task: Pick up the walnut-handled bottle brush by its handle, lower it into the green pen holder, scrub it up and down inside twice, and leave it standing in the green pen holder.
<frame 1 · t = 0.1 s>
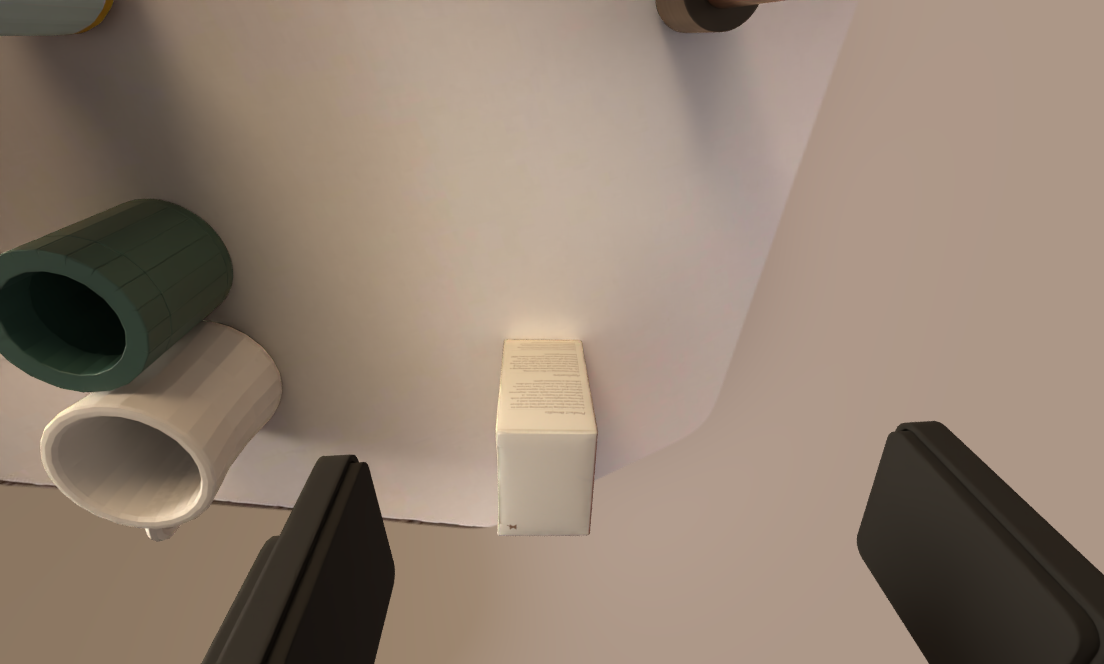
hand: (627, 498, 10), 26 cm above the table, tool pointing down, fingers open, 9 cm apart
small box: (542, 383, 41), on the table
mug: (221, 390, 40), on the table
green pen holder: (168, 259, 35), on the table
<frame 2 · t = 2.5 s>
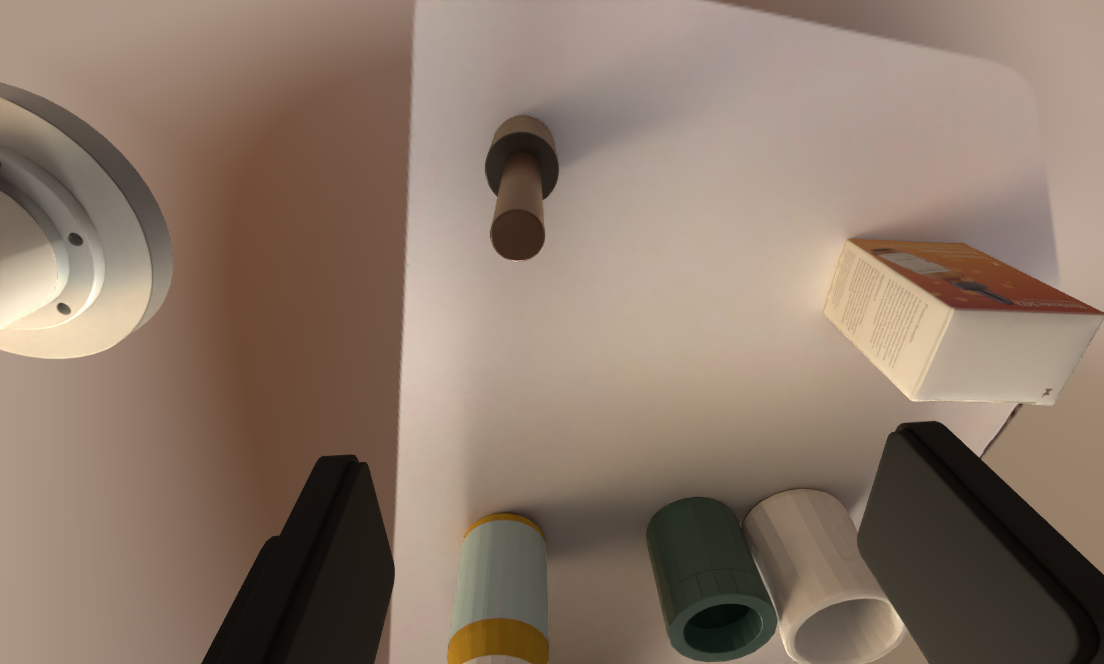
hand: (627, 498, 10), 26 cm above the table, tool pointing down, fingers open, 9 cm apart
bottle: (504, 536, 47), on the table
small box: (887, 277, 37), on the table
mug: (805, 524, 48), on the table
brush: (523, 148, 32), on the table
green pen holder: (690, 530, 48), on the table
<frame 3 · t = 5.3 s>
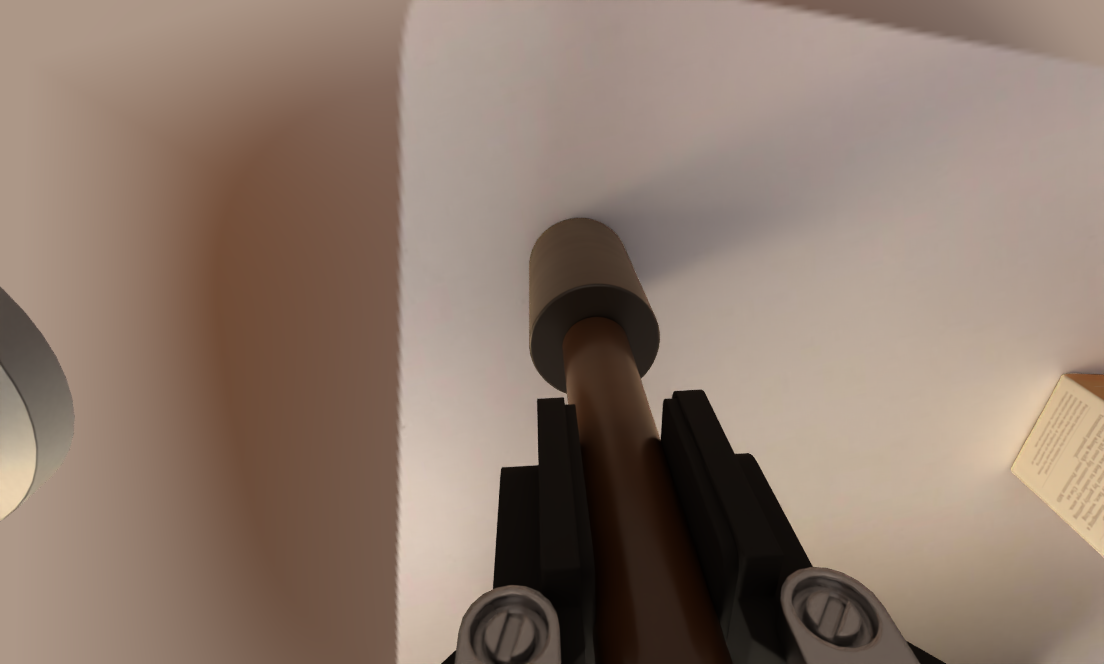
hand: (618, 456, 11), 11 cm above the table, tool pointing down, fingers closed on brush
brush: (578, 264, 20), on the table, touching gripper
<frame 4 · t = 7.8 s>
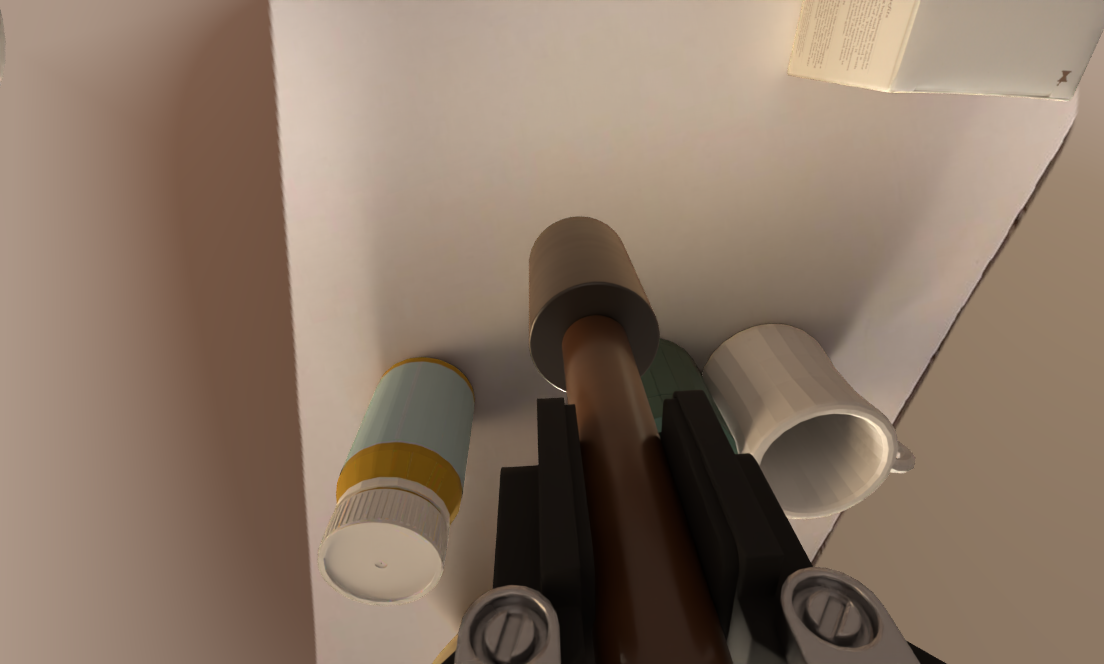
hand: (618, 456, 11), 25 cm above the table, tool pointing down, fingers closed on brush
bottle: (428, 392, 41), on the table
small box: (863, 24, 31), on the table
mug: (777, 375, 41), on the table
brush: (577, 263, 20), point 15 cm above the table, touching gripper
green pen holder: (644, 383, 41), on the table
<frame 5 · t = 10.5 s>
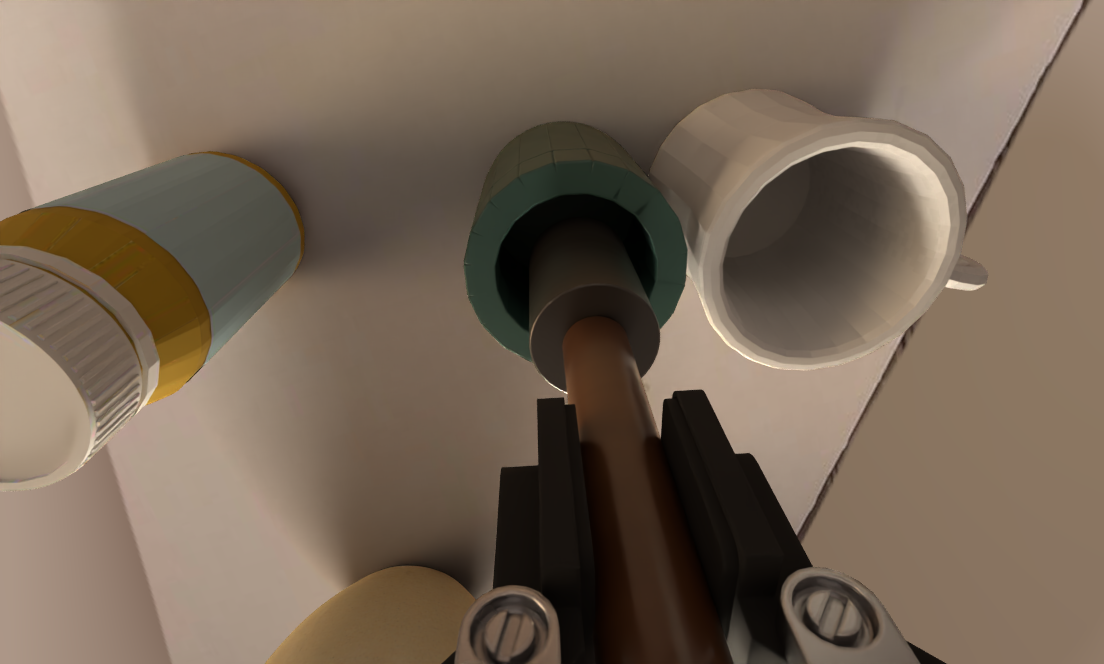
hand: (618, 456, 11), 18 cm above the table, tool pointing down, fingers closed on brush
bottle: (237, 221, 27), on the table
flower pot: (414, 598, 41), on the table
mug: (763, 193, 28), on the table
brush: (578, 264, 20), point 8 cm above the table, touching gripper
green pen holder: (562, 205, 27), on the table
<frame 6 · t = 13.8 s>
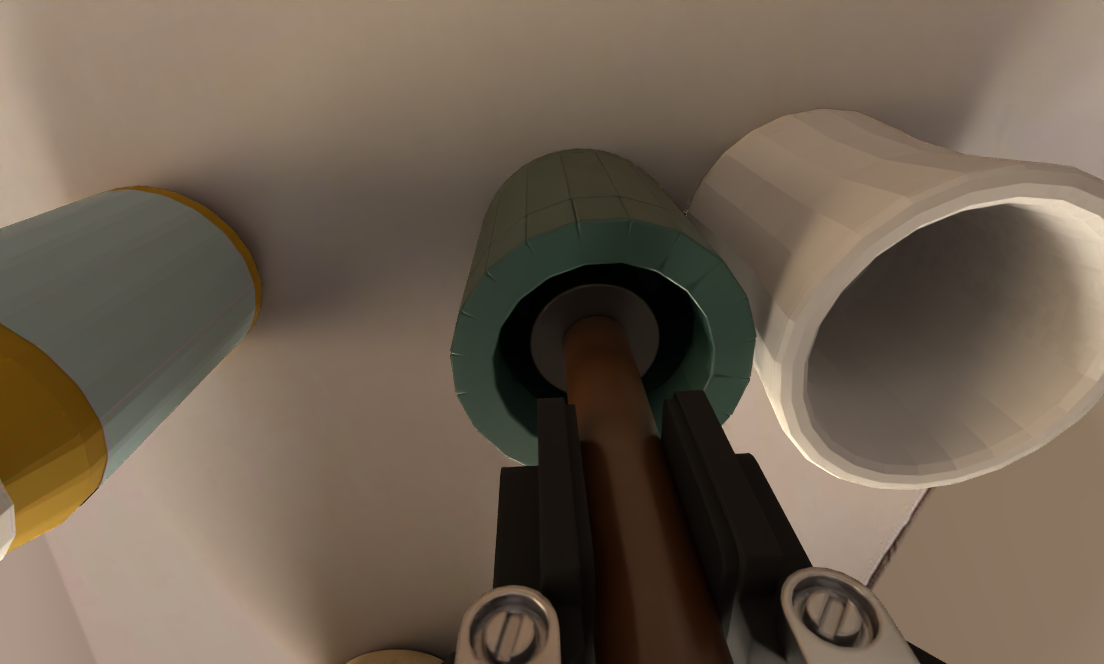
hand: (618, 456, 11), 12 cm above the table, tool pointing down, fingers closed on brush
bottle: (180, 268, 22), on the table
mug: (825, 234, 22), on the table
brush: (578, 264, 20), point 2 cm above the table, touching gripper
green pen holder: (578, 249, 22), on the table
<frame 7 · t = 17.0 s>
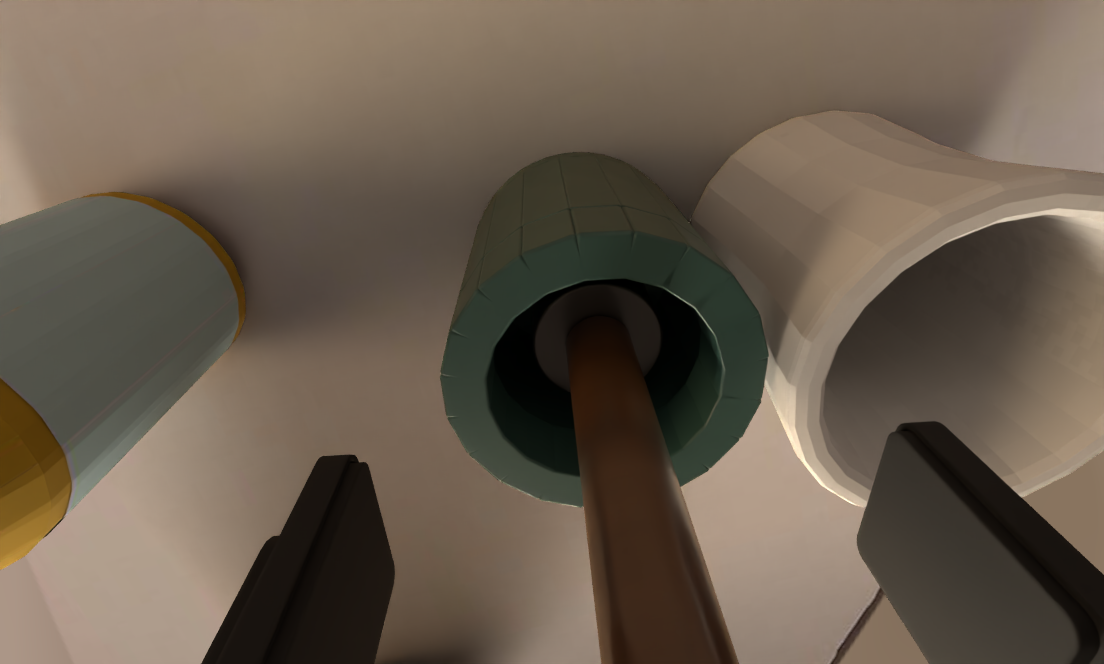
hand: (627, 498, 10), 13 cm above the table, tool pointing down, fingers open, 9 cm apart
bottle: (160, 277, 21), on the table
mug: (835, 241, 21), on the table
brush: (580, 264, 21), point 1 cm above the table, touching green pen holder
green pen holder: (577, 256, 21), on the table
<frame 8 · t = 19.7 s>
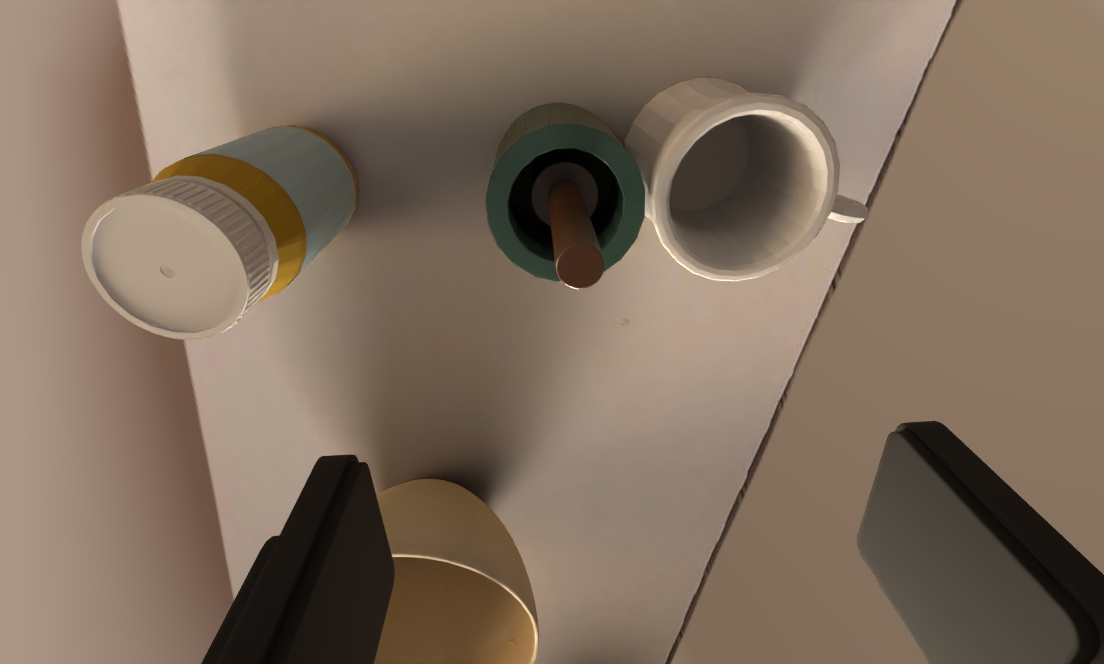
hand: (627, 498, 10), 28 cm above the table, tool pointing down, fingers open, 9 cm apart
bottle: (305, 181, 35), on the table
flower pot: (434, 510, 49), on the table
mug: (715, 160, 35), on the table
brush: (559, 171, 34), point 1 cm above the table, touching green pen holder
green pen holder: (557, 169, 35), on the table
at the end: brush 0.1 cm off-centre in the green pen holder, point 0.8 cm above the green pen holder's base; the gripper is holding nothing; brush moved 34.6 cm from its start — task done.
